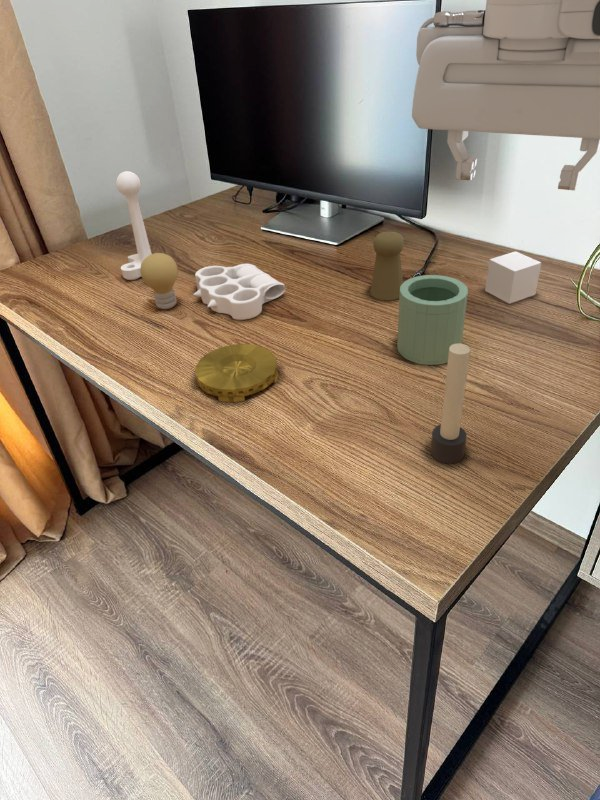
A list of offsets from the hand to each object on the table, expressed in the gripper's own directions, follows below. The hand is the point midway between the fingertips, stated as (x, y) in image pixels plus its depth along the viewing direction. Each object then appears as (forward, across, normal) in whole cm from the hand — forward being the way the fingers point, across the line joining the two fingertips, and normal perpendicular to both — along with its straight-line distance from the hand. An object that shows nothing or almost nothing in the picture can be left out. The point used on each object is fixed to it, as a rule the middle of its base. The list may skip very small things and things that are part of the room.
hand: (514, 183), depth 56 cm
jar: (+31, -12, +17) cm, 37 cm away
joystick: (+31, -74, +21) cm, 83 cm away
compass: (+31, -35, -2) cm, 47 cm away
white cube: (+31, -5, +40) cm, 51 cm away
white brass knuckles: (+31, -50, +20) cm, 62 cm away
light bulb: (+31, -60, +12) cm, 69 cm away
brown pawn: (+31, -25, +32) cm, 51 cm away
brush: (+31, -2, -5) cm, 32 cm away
